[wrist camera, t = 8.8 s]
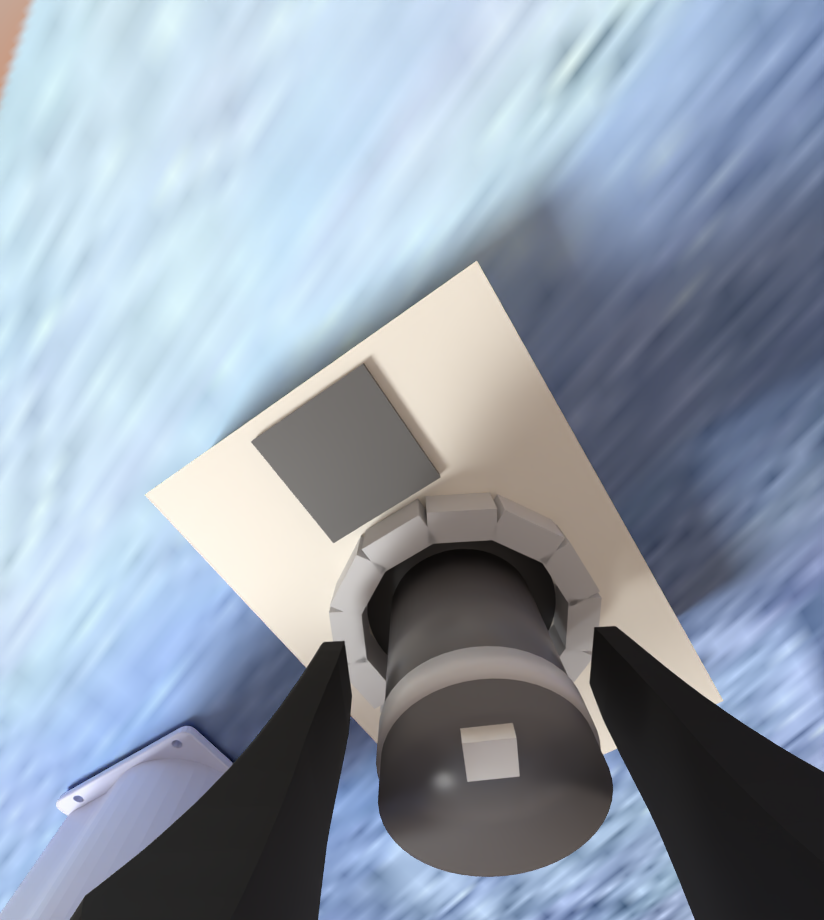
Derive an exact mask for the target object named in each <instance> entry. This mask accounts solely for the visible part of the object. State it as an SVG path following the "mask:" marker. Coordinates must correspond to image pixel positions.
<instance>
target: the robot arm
mask: <svg viewBox="0 0 824 920" xmlns="http://www.w3.org/2000/svg"><path fill="white" fill-rule="evenodd" d="M589 684H590V687H591V689H592V692H593V695H594V698H595V700H596V703H597V706H598V708H599V711H600V713H601V716H602V718H603V721H604V723H605V725H606V727H607V729H608V731H609V733H610V735H611V737H612V739H613V741H614V743H615V745H616V747H617V749H618V751H619V753H620V755H621V757H622V759H623V761H624V763H625V765H626V767H627V768H628V770H629V772H630V774H631V776H632V778H633V780H634V782H635V784H636V786H637V788H638V790H639V792H640V794H641V796H642V798H643V800H644V802H645V804H646V805H647V807H648V809H649V811H650V814H651V816H652V818H653V820H654V822H655V824H656V826H657V828H658V831H659V833H660V835H661V838H662V840H663V842H664V845H665V847H666V850H667V852H668V854H669V857H670V859H671V862H672V864H673V866H674V869H675V871H676V874H677V876H678V878H679V881H680V883H681V886H682V888H683V891H684V893H685V896H686V898H687V901H688V904H689V906H690V909H691V911H692V914H693V916H694V919H695V920H824V772H823V771H821V770H819V769H817V768H816V767H814V766H812V765H810V764H809V763H807V762H805V761H803V760H802V759H800V758H798V757H796V756H795V755H793V754H791V753H790V752H788V751H786V750H785V749H783V748H781V747H780V746H778V745H776V744H775V743H773V742H771V741H770V740H768V739H767V738H765V737H764V736H762V735H760V734H759V733H757V732H756V731H754V730H753V729H751V728H749V727H748V726H746V725H745V724H743V723H742V722H740V721H739V720H737V719H736V718H734V717H733V716H731V715H730V714H728V713H727V712H726V711H724V710H723V709H721V708H720V707H719V706H717V705H716V704H714V703H713V702H712V701H710V700H709V699H707V698H706V697H705V696H703V695H702V694H701V693H699V692H698V691H697V690H695V689H694V688H693V687H691V686H690V685H689V684H687V683H686V682H685V681H683V680H682V679H681V678H679V677H678V676H677V675H676V674H674V673H673V672H672V671H671V670H669V669H668V668H667V667H665V666H664V665H663V664H662V663H661V662H659V661H658V660H657V659H656V658H654V657H653V656H652V655H651V654H649V653H648V652H647V651H646V650H645V649H643V648H642V647H641V646H640V645H638V644H637V643H636V642H635V641H634V640H632V639H631V638H630V637H629V636H628V635H626V634H625V633H624V632H623V631H621V630H620V629H619V628H618V627H616V626H606V627H594V635H593V646H592V658H591V669H590V681H589ZM351 703H352V691H351V684H350V676H349V669H348V662H347V654H346V647H345V641H331V642H323V643H322V644H321V645H320V647H319V649H318V650H317V652H316V654H315V655H314V657H313V658H312V660H311V662H310V663H309V665H308V666H307V668H306V669H305V671H304V672H303V674H302V676H301V677H300V679H299V680H298V682H297V683H296V684H295V686H294V687H293V689H292V690H291V692H290V693H289V694H288V696H287V697H286V699H285V700H284V702H283V703H282V704H281V706H280V707H279V708H278V710H277V711H276V712H275V714H274V715H273V716H272V718H271V719H270V720H269V721H268V723H267V724H266V725H265V727H264V728H263V729H262V731H261V732H260V733H259V734H258V736H257V737H256V738H255V739H254V740H253V742H252V743H251V744H250V745H249V746H248V747H247V749H246V750H245V751H244V752H243V753H242V754H241V756H240V757H239V758H238V759H237V760H236V761H235V762H234V763H232V762H231V761H230V760H229V759H228V758H227V757H226V756H225V755H223V754H222V753H221V752H220V751H219V750H218V749H217V748H216V747H215V746H214V745H212V744H211V743H210V742H209V741H208V740H207V739H206V738H205V737H204V736H203V735H201V734H200V733H199V732H198V731H197V730H196V729H195V728H193V727H191V726H183V727H180V728H179V729H177V730H175V731H173V732H172V733H170V734H168V735H166V736H164V737H163V738H161V739H159V740H157V741H156V742H154V743H152V744H150V745H149V746H147V747H145V748H143V749H141V750H140V751H138V752H136V753H134V754H133V755H131V756H129V757H127V758H126V759H124V760H122V761H120V762H118V763H117V764H115V765H113V766H111V767H110V768H108V769H106V770H104V771H103V772H101V773H99V774H97V775H95V776H94V777H92V778H90V779H88V780H87V781H85V782H83V783H81V784H80V785H78V786H76V787H74V788H72V789H71V790H69V791H67V792H65V793H64V794H62V795H61V796H60V798H59V799H58V801H57V802H56V806H57V808H58V809H59V810H60V811H62V812H63V813H64V814H66V815H67V818H66V819H65V821H64V822H63V823H62V825H61V826H60V828H59V829H58V831H57V832H56V834H55V835H54V836H53V838H52V839H51V841H50V842H49V844H48V845H47V847H46V848H45V849H44V851H43V852H42V854H41V855H40V857H39V858H38V859H37V861H36V862H35V864H34V865H33V867H32V868H31V870H30V871H29V872H28V874H27V875H26V877H25V878H24V880H23V881H22V883H21V884H20V885H19V887H18V888H17V890H16V891H15V893H14V894H13V896H12V897H11V898H10V900H9V901H8V903H7V904H6V906H5V907H4V908H3V910H2V911H1V913H0V920H318V914H319V905H320V896H321V888H322V880H323V872H324V863H325V855H326V847H327V841H328V835H329V829H330V824H331V819H332V814H333V809H334V804H335V799H336V794H337V789H338V784H339V779H340V774H341V769H342V764H343V759H344V754H345V749H346V744H347V739H348V734H349V724H350V714H351Z"/></svg>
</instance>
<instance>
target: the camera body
mask: <svg viewBox="0 0 824 920" xmlns="http://www.w3.org/2000/svg"><path fill="white" fill-rule="evenodd" d="M145 496H146V497H147V498H148V499H149V500H150V501H151V502H152V503H153V504H154V505H155V506H156V507H157V509H158V510H159V511H160V512H161V513H162V514H163V515H164V516H165V517H166V518H167V519H168V520H169V521H170V522H171V523H172V525H173V526H174V527H175V528H176V529H177V530H178V531H179V532H180V533H181V534H182V535H183V536H184V537H185V538H186V540H187V541H188V542H189V543H190V544H191V545H192V546H193V547H194V548H195V549H196V550H197V551H198V552H199V553H200V555H201V556H202V557H203V558H204V559H205V560H206V561H207V562H208V563H209V564H210V565H211V566H212V567H213V568H214V570H215V571H216V572H217V573H218V574H219V575H220V576H221V577H222V578H223V579H224V580H225V581H226V582H227V583H228V585H229V586H230V587H231V588H232V589H233V590H234V591H235V592H236V593H237V594H238V595H239V596H240V597H241V598H242V600H243V601H244V602H245V603H246V604H247V605H248V606H249V607H250V608H251V609H252V610H253V611H254V612H255V613H256V615H257V616H258V617H259V618H260V619H261V620H262V621H263V622H264V623H265V624H266V625H267V626H268V627H269V628H270V629H271V631H272V632H273V633H274V634H275V635H276V636H277V637H278V638H279V639H280V640H281V641H282V642H283V643H284V644H285V646H286V647H287V648H288V649H289V650H290V651H291V652H292V653H293V654H294V655H295V656H296V657H297V658H298V659H299V661H300V662H301V663H302V664H303V665H304V666H305V667H306V668H307V666H308V665H309V663H310V662H311V660H312V658H313V657H314V655H315V654H316V652H317V650H318V649H319V647H320V645H321V644H322V643H323V642H331V641H345V647H346V654H347V662H348V669H349V676H350V684H351V691H352V703H351V714H350V715H351V716H352V717H353V718H354V719H355V721H356V722H357V723H358V724H359V725H360V726H361V727H362V728H363V729H364V730H365V731H366V732H367V733H368V734H369V735H370V737H371V738H372V739H373V740H374V741H375V742H376V743H378V730H379V720H380V715H381V711H382V708H383V706H384V703H385V690H386V676H387V661H388V646H389V631H390V617H391V603H392V598H393V595H394V592H395V589H396V587H397V586H398V584H399V582H400V580H401V579H402V578H403V576H404V575H405V574H406V573H407V572H408V571H409V570H410V569H411V568H412V567H413V566H415V565H416V564H417V563H419V562H420V561H422V560H424V559H425V558H427V557H429V556H432V555H434V554H437V553H440V552H443V551H448V550H453V549H475V550H481V551H485V552H488V553H492V554H494V555H496V556H499V557H501V558H502V559H504V560H506V561H507V562H509V563H510V564H511V565H512V566H514V567H515V568H516V569H517V570H518V571H519V572H520V574H521V575H522V576H523V578H524V579H525V581H526V583H527V585H528V587H529V589H530V592H531V594H532V596H533V598H534V601H535V603H536V605H537V607H538V610H539V612H540V614H541V616H542V619H543V621H544V623H545V625H546V628H547V630H548V632H549V634H550V637H551V639H552V641H553V643H554V646H555V648H556V650H557V652H558V655H559V657H560V659H561V661H562V664H563V666H564V668H565V670H566V673H567V675H568V677H569V678H570V679H571V680H572V681H573V683H574V684H575V685H576V687H577V688H578V690H579V692H580V694H581V696H582V698H583V700H584V703H585V705H586V707H587V709H588V711H589V713H590V716H591V718H592V720H593V722H594V724H595V727H596V729H597V732H598V735H599V739H600V746H601V752H602V754H606V753H608V752H610V751H612V750H615V749H617V747H616V745H615V743H614V741H613V739H612V737H611V735H610V733H609V731H608V729H607V727H606V725H605V723H604V721H603V718H602V716H601V713H600V711H599V708H598V706H597V703H596V700H595V698H594V695H593V692H592V689H591V687H590V684H589V681H590V669H591V658H592V646H593V635H594V627H606V626H616V627H618V628H619V629H620V630H621V631H623V632H624V633H625V634H626V635H628V636H629V637H630V638H631V639H632V640H634V641H635V642H636V643H637V644H638V645H640V646H641V647H642V648H643V649H645V650H646V651H647V652H648V653H649V654H651V655H652V656H653V657H654V658H656V659H657V660H658V661H659V662H661V663H662V664H663V665H664V666H665V667H667V668H668V669H669V670H671V671H672V672H673V673H674V674H676V675H677V676H678V677H679V678H681V679H682V680H683V681H685V682H686V683H687V684H689V685H690V686H691V687H693V688H694V689H695V690H697V691H698V692H699V693H701V694H702V695H703V696H705V697H706V698H707V699H709V700H710V701H712V702H713V703H714V704H717V703H720V702H722V701H723V699H722V698H721V696H720V694H719V692H718V690H717V689H716V687H715V685H714V683H713V682H712V680H711V678H710V676H709V674H708V673H707V671H706V669H705V667H704V665H703V664H702V662H701V660H700V658H699V656H698V655H697V653H696V651H695V649H694V648H693V646H692V644H691V642H690V640H689V639H688V637H687V635H686V633H685V631H684V630H683V628H682V626H681V624H680V623H679V621H678V619H677V617H676V615H675V614H674V612H673V610H672V608H671V606H670V605H669V603H668V601H667V599H666V598H665V596H664V594H663V592H662V590H661V589H660V587H659V585H658V583H657V581H656V580H655V578H654V576H653V574H652V573H651V571H650V569H649V567H648V565H647V564H646V562H645V560H644V558H643V556H642V555H641V553H640V551H639V549H638V548H637V546H636V544H635V542H634V540H633V539H632V537H631V535H630V533H629V531H628V530H627V528H626V526H625V524H624V522H623V521H622V519H621V517H620V515H619V514H618V512H617V510H616V508H615V506H614V505H613V503H612V501H611V499H610V497H609V496H608V494H607V492H606V490H605V489H604V487H603V485H602V483H601V481H600V480H599V478H598V476H597V474H596V472H595V471H594V469H593V467H592V465H591V464H590V462H589V460H588V458H587V456H586V455H585V453H584V451H583V449H582V447H581V446H580V444H579V442H578V440H577V439H576V437H575V435H574V433H573V431H572V430H571V428H570V426H569V424H568V422H567V421H566V419H565V417H564V415H563V413H562V412H561V410H560V408H559V406H558V405H557V403H556V401H555V399H554V397H553V396H552V394H551V392H550V390H549V388H548V387H547V385H546V383H545V381H544V380H543V378H542V376H541V374H540V372H539V371H538V369H537V367H536V365H535V363H534V362H533V360H532V358H531V356H530V355H529V353H528V351H527V349H526V347H525V346H524V344H523V342H522V340H521V338H520V337H519V335H518V333H517V331H516V330H515V328H514V326H513V324H512V322H511V321H510V319H509V317H508V315H507V313H506V312H505V310H504V308H503V306H502V304H501V303H500V301H499V299H498V297H497V296H496V294H495V292H494V290H493V288H492V287H491V285H490V283H489V281H488V279H487V278H486V276H485V274H484V272H483V271H482V269H481V267H480V265H479V263H478V262H477V261H476V262H474V263H473V264H471V265H470V266H468V267H467V268H466V269H464V270H463V271H461V272H460V273H458V274H457V275H456V276H454V277H453V278H451V279H450V280H449V281H447V282H446V283H444V284H443V285H441V286H440V287H439V288H437V289H436V290H434V291H433V292H432V293H430V294H429V295H427V296H426V297H424V298H423V299H422V300H420V301H419V302H417V303H416V304H415V305H413V306H412V307H410V308H409V309H407V310H406V311H405V312H403V313H402V314H400V315H399V316H398V317H396V318H395V319H393V320H392V321H390V322H389V323H388V324H386V325H385V326H383V327H382V328H381V329H379V330H378V331H376V332H375V333H373V334H372V335H371V336H369V337H368V338H366V339H365V340H363V341H362V342H361V343H359V344H358V345H356V346H355V347H354V348H352V349H351V350H349V351H348V352H346V353H345V354H344V355H342V356H341V357H339V358H338V359H337V360H335V361H334V362H332V363H331V364H329V365H328V366H327V367H325V368H324V369H322V370H321V371H320V372H318V373H317V374H315V375H314V376H312V377H311V378H310V379H308V380H307V381H305V382H304V383H303V384H301V385H300V386H298V387H297V388H295V389H294V390H293V391H291V392H290V393H288V394H287V395H286V396H284V397H283V398H281V399H280V400H278V401H277V402H276V403H274V404H273V405H271V406H270V407H268V408H267V409H266V410H264V411H263V412H261V413H260V414H259V415H257V416H256V417H254V418H253V419H251V420H250V421H249V422H247V423H246V424H244V425H243V426H242V427H240V428H239V429H237V430H236V431H234V432H233V433H232V434H230V435H229V436H227V437H226V438H225V439H223V440H222V441H220V442H219V443H217V444H216V445H215V446H213V447H212V448H210V449H209V450H208V451H206V452H205V453H203V454H202V455H200V456H199V457H198V458H196V459H195V460H193V461H192V462H191V463H189V464H188V465H186V466H185V467H183V468H182V469H181V470H179V471H178V472H176V473H175V474H173V475H172V476H171V477H169V478H168V479H166V480H165V481H164V482H162V483H161V484H159V485H158V486H156V487H155V488H154V489H152V490H151V491H149V492H148V493H147V494H145Z"/></svg>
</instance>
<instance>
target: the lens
mask: <svg viewBox="0 0 824 920" xmlns="http://www.w3.org/2000/svg"><path fill="white" fill-rule="evenodd" d="M376 766H377V773H378V777H379V795H378V806H379V813H380V816H381V819H382V822H383V824H384V826H385V828H386V830H387V832H388V833H389V835H390V836H391V837H392V839H393V840H394V841H395V842H396V843H397V844H398V845H399V846H400V847H401V848H402V849H403V850H404V851H406V852H407V853H408V854H410V855H411V856H413V857H414V858H416V859H418V860H420V861H421V862H423V863H425V864H428V865H430V866H432V867H435V868H437V869H441V870H444V871H447V872H451V873H456V874H461V875H469V876H482V877H494V876H507V875H514V874H520V873H525V872H529V871H533V870H536V869H539V868H542V867H545V866H548V865H550V864H552V863H555V862H557V861H559V860H561V859H563V858H565V857H566V856H568V855H570V854H571V853H573V852H574V851H576V850H577V849H579V848H580V847H581V846H582V845H584V844H585V843H586V842H587V841H588V840H589V839H590V838H591V837H592V836H593V835H594V834H595V833H596V832H597V831H598V829H599V828H600V826H601V825H602V823H603V822H604V820H605V818H606V816H607V814H608V812H609V809H610V805H611V802H612V794H613V784H612V777H611V774H610V770H609V767H608V765H607V763H606V761H605V758H604V756H603V754H602V752H601V746H600V739H599V735H598V732H597V729H596V727H595V724H594V722H593V720H592V718H591V716H590V713H589V711H588V709H587V707H586V705H585V703H584V700H583V698H582V696H581V694H580V692H579V690H578V688H577V687H576V685H575V684H574V683H573V681H572V680H571V679H570V678H569V677H568V675H567V673H566V670H565V668H564V666H563V664H562V661H561V659H560V657H559V655H558V652H557V650H556V648H555V646H554V643H553V641H552V639H551V637H550V634H549V632H548V630H547V628H546V625H545V623H544V621H543V619H542V616H541V614H540V612H539V610H538V607H537V605H536V603H535V601H534V598H533V596H532V594H531V592H530V589H529V587H528V585H527V583H526V581H525V579H524V578H523V576H522V575H521V574H520V572H519V571H518V570H517V569H516V568H515V567H514V566H512V565H511V564H510V563H509V562H507V561H506V560H504V559H502V558H501V557H499V556H496V555H494V554H492V553H488V552H485V551H481V550H475V549H453V550H448V551H443V552H440V553H437V554H434V555H432V556H429V557H427V558H425V559H424V560H422V561H420V562H419V563H417V564H416V565H415V566H413V567H412V568H411V569H410V570H409V571H408V572H407V573H406V574H405V575H404V576H403V578H402V579H401V580H400V582H399V584H398V586H397V587H396V589H395V592H394V595H393V598H392V603H391V617H390V631H389V646H388V661H387V676H386V690H385V703H384V706H383V708H382V711H381V715H380V720H379V730H378V743H377V758H376Z"/></svg>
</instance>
